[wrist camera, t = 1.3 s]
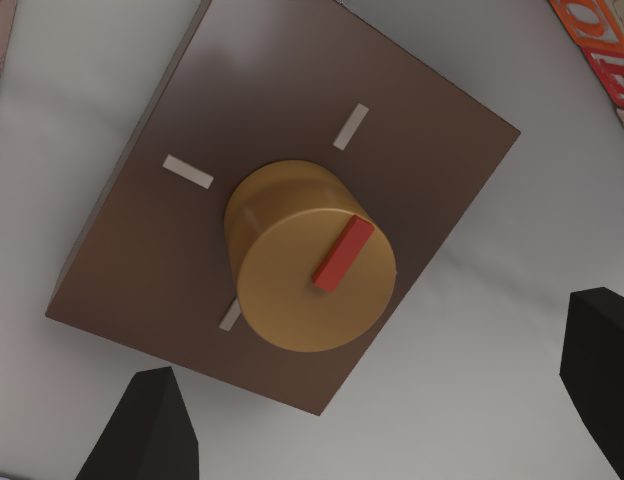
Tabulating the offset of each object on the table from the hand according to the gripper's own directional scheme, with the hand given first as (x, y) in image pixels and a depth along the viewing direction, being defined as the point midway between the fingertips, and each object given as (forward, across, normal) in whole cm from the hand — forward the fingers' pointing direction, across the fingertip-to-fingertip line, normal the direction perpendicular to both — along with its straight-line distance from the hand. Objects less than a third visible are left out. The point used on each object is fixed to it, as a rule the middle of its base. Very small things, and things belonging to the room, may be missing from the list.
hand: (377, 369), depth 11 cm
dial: (+8, +1, +1) cm, 8 cm away
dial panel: (+11, +1, +2) cm, 11 cm away
